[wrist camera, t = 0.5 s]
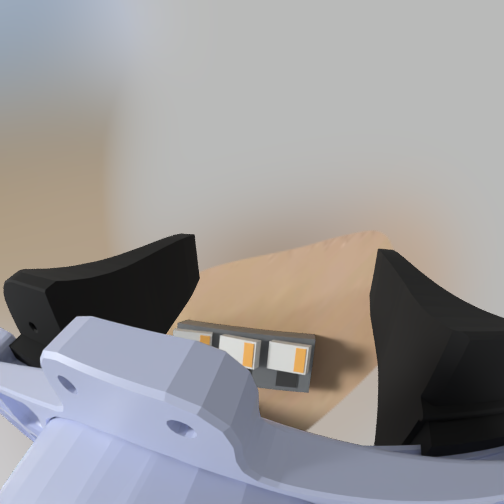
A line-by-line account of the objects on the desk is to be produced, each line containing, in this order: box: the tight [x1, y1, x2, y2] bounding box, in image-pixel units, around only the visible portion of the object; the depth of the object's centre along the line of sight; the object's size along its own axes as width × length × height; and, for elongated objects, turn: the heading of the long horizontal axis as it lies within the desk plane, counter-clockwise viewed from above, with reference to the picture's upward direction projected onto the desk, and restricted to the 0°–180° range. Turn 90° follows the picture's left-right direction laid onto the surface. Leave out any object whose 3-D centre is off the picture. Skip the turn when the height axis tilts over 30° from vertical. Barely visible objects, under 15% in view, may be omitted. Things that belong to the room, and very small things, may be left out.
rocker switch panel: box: [177, 320, 316, 393], centre depth 32 cm, size 6×15×4 cm, turn 84°
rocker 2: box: [219, 334, 261, 370], centre depth 30 cm, size 3×4×1 cm
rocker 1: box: [173, 328, 213, 346], centre depth 31 cm, size 3×4×1 cm
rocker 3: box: [267, 340, 312, 375], centre depth 29 cm, size 3×4×1 cm
